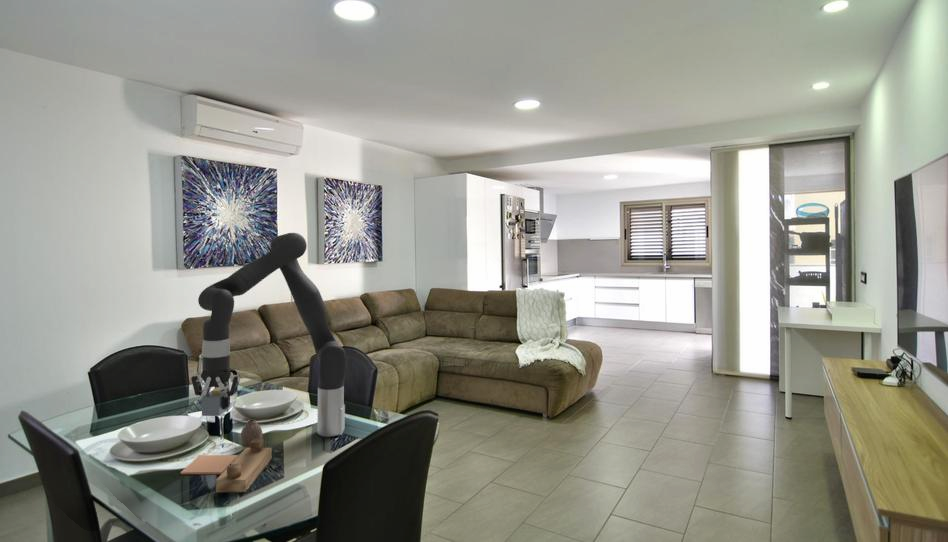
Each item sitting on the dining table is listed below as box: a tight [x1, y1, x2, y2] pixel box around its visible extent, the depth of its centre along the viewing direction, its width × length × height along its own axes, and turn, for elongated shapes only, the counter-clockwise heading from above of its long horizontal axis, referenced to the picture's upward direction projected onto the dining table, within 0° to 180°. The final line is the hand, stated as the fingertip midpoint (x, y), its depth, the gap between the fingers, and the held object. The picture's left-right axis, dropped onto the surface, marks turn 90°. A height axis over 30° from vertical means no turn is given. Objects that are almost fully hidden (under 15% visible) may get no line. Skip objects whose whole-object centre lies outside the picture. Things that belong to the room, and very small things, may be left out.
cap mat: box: [180, 454, 239, 475], centre depth 157 cm, size 12×12×1 cm
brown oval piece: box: [239, 419, 263, 448], centre depth 172 cm, size 7×7×9 cm
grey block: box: [201, 387, 231, 417], centre depth 154 cm, size 5×8×6 cm, turn 5°
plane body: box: [215, 438, 273, 493], centre depth 151 cm, size 8×22×6 cm, turn 4°
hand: (216, 408), depth 154 cm, fingers closed on grey block, 5 cm apart
